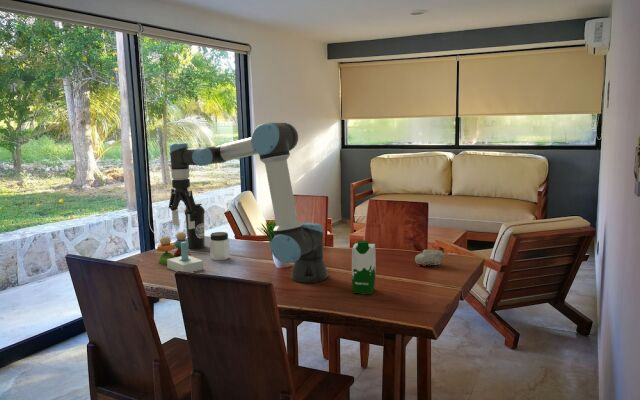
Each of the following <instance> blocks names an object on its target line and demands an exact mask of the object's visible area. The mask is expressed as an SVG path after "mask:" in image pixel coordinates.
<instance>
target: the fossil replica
mask: <svg viewBox="0 0 640 400" xmlns="http://www.w3.org/2000/svg"><path fill="white" fill-rule="evenodd" d="M444 255H445V254H444V252H443V250H439V249H424V250H422V252H420V253H419V254H417V255H415V258H414V260H415V263H416V264H417V263H418V264H434V265H436V264H439V265H440V264H441V261H442V258H444ZM418 264H417V265H418Z"/></svg>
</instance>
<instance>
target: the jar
mask: <svg viewBox="0 0 640 400" xmlns="http://www.w3.org/2000/svg"><path fill="white" fill-rule="evenodd" d="M209 249H210V250H209V251H210V252H209V253H210V259H211V260H213V261H225V260H227V259H229V258H230V239H229V235H228V232H225V231H217V232H212V233H211V232H210V239H209Z"/></svg>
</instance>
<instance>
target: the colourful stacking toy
mask: <svg viewBox="0 0 640 400" xmlns="http://www.w3.org/2000/svg"><path fill="white" fill-rule="evenodd" d="M175 237H176V240H175V242H174V243H172V241H171V238H170V237H169V235H163V236H161V237H160V240H159V243H160V244H158V245H157V249H156V252H157V251H158V252H164V253H162V254H161V255H160V257H159V260H158V264H160V265H167V259H171V258H175V257H179V255H180V256H181V242H188V240H187V233H185V232H184V231H179V232H177V233H176V235H175ZM188 245H189V244H188ZM175 249H176V250H175ZM174 250H175V251H174ZM170 251H174V253H171V252H170ZM188 256H191V257H194V258H196V257H195V255H191V253H190V251H189V250H188Z"/></svg>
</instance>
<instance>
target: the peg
mask: <svg viewBox="0 0 640 400" xmlns="http://www.w3.org/2000/svg"><path fill="white" fill-rule="evenodd" d="M188 251H189V248H188V241H187V242H181V254H180V256H182V262H184V261H189V257H188Z"/></svg>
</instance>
